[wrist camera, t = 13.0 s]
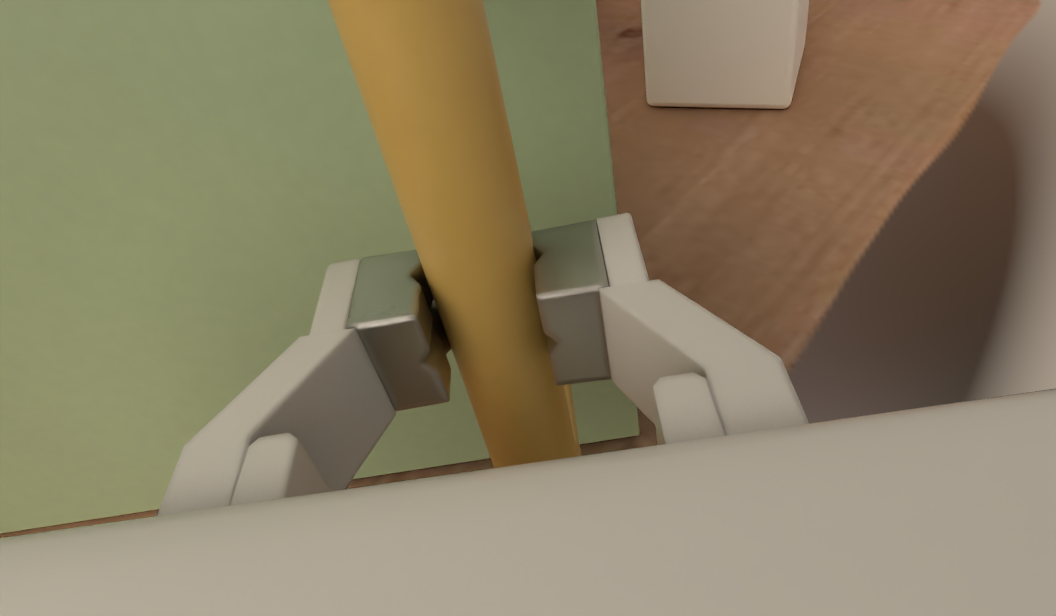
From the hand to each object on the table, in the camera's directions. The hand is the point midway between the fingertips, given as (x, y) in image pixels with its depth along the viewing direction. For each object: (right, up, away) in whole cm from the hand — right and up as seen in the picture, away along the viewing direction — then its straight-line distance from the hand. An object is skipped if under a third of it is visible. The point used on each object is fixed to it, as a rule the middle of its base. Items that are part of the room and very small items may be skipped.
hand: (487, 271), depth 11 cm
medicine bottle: (+11, +12, +26) cm, 31 cm away
